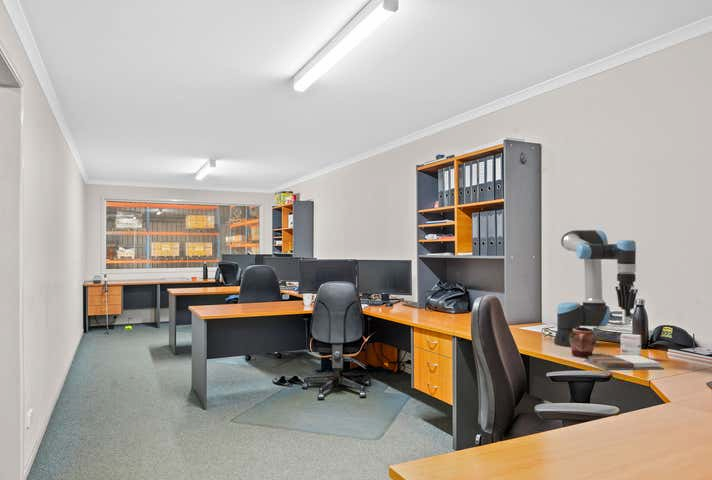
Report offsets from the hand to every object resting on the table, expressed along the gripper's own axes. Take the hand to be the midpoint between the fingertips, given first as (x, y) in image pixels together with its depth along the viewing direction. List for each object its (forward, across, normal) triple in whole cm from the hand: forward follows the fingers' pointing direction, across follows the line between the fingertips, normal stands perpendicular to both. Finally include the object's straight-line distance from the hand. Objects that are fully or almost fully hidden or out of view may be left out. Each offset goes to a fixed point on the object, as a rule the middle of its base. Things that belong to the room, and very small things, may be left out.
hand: (626, 323), depth 223 cm
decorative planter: (+20, -16, -12) cm, 28 cm away
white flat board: (+18, +2, +4) cm, 19 cm away
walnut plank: (+19, +2, -9) cm, 21 cm away
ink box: (+20, -11, +10) cm, 25 cm away
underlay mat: (+19, +2, -3) cm, 19 cm away
